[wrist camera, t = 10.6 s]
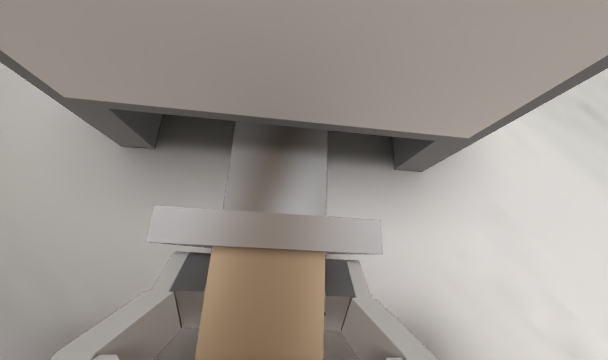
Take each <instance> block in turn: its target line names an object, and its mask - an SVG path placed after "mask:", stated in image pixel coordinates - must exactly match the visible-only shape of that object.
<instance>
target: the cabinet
mask: <svg viewBox="0 0 608 360" xmlns="http://www.w3.org/2000/svg"><path fill="white" fill-rule="evenodd" d="M0 62H1V63H3V64H4V65H6V66H7V67H8V68H10V69H11V70H13V71H14V72H16V73H17V74H18V75H20V76H21V77H23V78H24V79H26V80H27V81H28V82H30V83H31V84H33V85H34V86H36V87H37V88H38V89H40V90H41V91H43V92H44V93H46V94H47V95H49V96H50V97H51V98H53V99H54V100H56V101H57V102H59V103H60V104H61V105H63V106H64V107H66V108H67V109H69V110H70V111H71V112H73V113H74V114H76V115H77V116H79V117H80V118H81V119H83V120H84V121H86V122H87V123H89V124H90V125H91V126H93V127H94V128H96V129H97V130H99V131H100V132H101V133H103V134H104V135H106V136H107V137H109V138H110V139H112V140H113V141H114V142H116V143H117V144H119V145H120V146H126V147H138V148H150V149H154V148H155V144H156V140H157V136H158V132H159V128H160V124H161V120H162V116H163V114H169V115H179V116H189V117H200V118H210V119H220V120H230V121H240V122H250V123H260V124H270V125H280V126H290V127H300V128H311V129H321V130H331V131H341V132H351V133H361V134H371V135H381V136H391V137H392V138H393V152H394V166H395V170H407V171H419V172H422V171H424V170H426V169H428V168H429V167H431V166H433V165H435V164H437V163H438V162H440V161H442V160H444V159H446V158H447V157H449V156H451V155H453V154H454V153H456V152H458V151H460V150H462V149H463V148H465V147H467V146H469V145H471V144H472V143H474V142H476V141H478V140H480V139H481V138H483V137H485V136H487V135H489V134H490V133H492V132H494V131H496V130H497V129H499V128H501V127H503V126H505V125H506V124H508V123H510V122H512V121H514V120H515V119H517V118H519V117H521V116H523V115H524V114H526V113H528V112H530V111H532V110H533V109H535V108H537V107H539V106H540V105H542V104H544V103H546V102H548V101H549V100H551V99H553V98H555V97H557V96H558V95H560V94H562V93H564V92H566V91H567V90H569V89H571V88H573V87H575V86H576V85H578V84H580V83H582V82H584V81H585V80H587V79H589V78H591V77H592V76H594V75H596V74H598V73H600V72H601V71H603V70H605V69H607V68H608V0H0Z"/></svg>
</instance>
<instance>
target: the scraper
mask: <svg viewBox="0 0 608 360" xmlns="http://www.w3.org/2000/svg"><path fill="white" fill-rule="evenodd" d="M327 144H328V130H321V129H311V128H300V127H290V126H280V125H270V124H260V123H250V122H240V121H236V124H235V131H234V137H233V144H232V151H231V157H230V164H229V171H228V177H227V184H226V190H225V197H224V204H223V210H221V209H206V208H191V207H176V206H161V205H154V207H153V211H152V215H151V220H150V224H149V228H148V232H147V236H146V241H145V242H152V243H162V244H173V245H183V246H194V247H204V248H212V250H211V257H210V263H209V270H208V276H207V282H206V289H205V295H204V302H203V308H202V314H201V321H200V327H199V334H198V340H197V346H196V353H195V359H194V360H323V349H324V298H325V254H383V253H382V232H381V220H372V219H357V218H342V217H326V193H327Z"/></svg>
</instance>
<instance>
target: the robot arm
mask: <svg viewBox="0 0 608 360" xmlns="http://www.w3.org/2000/svg"><path fill="white" fill-rule="evenodd" d="M210 257H211V254H208V253H194V252H177V251H176V252H175V253H174V254H173V255H172V256H171V258H170V259H169V261H168V263H167V264H166V266H165V268H164V269H163V271H162V273H161V274H160V276H159V278H158V279H157V281H156V283H155V285H154V286H153V288H152V290H151V291H145V292H143V293H142V294H140V295H139V296H138V297H136V298H135V299H133V300H132V301H130V302H129V303H127V304H126V305H124V306H123V307H121V308H120V309H119V310H117V311H116V312H114V313H113V314H111V315H110V316H108V317H107V318H105V319H104V320H102V321H101V322H100V323H98V324H97V325H95V326H94V327H92V328H91V329H89V330H88V331H86V332H85V333H83V334H82V335H81V336H79V337H78V338H76V339H75V340H73V341H72V342H70V343H69V344H67V345H66V346H64V347H63V348H62V349H60V350H59V351H57V352H56V353H55V354H54V355H53V357H52V358H51V359H50V360H153V359H154V358H155V357H156V356H157V355H158V354H159V353H160V352H161V351H162V350H163V349H164V348H165V347H166V345H167V344H168V343H169V342H170V341H171V340H172V339H173V338H174V337H175V336H176V335H177V334H178V333H179V332H180V331H181V328H199V327H200V321H201V314H202V308H203V302H204V295H205V289H206V282H207V276H208V270H209V263H210ZM324 331H341V333H342V335H343V336H344V338H345V339H346V341H347V342H348V344H349V345H350V347H351V348H352V350H353V351H354V353H355V354H356V356H357V357H358V359H359V360H437V359H436V357H435V356H434V355H433V354H432V353H431V352H430V351H429V350H428V349H427V348H426V347H425V346H424V345H423V344H422V343H421V342H420V341H419V340H418V339H417V338H416V337H415V336H414V335H413V334H412V333H411V332H410V331H409V330H408V329H406V328H405V327H404V326H403V325H402V324H401V323H400V322H399V321H398V320H397V319H396V318H395V317H394V316H393V315H392V314H391V313H390V312H389V311H388V310H387V309H386V308H385V307H384V306H383V305H382V304H381V303H380V302H379V301H378V300H377V299H374V298H371V295H370V292H369V289H368V286H367V283H366V280H365V277H364V274H363V271H362V268H361V265H360V262H359V261H358V260H333V259H325V298H324Z"/></svg>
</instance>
